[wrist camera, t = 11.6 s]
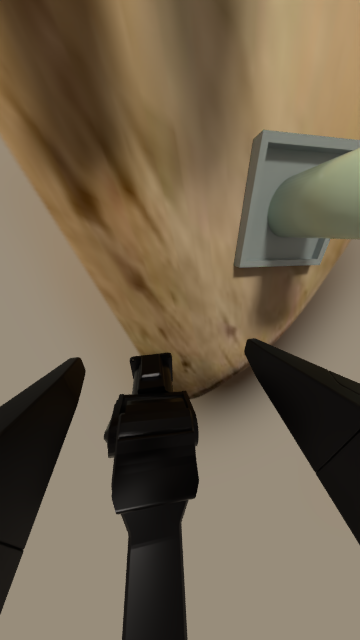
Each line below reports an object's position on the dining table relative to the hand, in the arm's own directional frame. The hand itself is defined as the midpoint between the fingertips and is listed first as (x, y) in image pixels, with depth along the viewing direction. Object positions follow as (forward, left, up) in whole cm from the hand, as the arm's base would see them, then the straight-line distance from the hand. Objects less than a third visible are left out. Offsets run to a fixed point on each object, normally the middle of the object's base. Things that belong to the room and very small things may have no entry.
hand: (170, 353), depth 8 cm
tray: (+8, -16, -13) cm, 22 cm away
